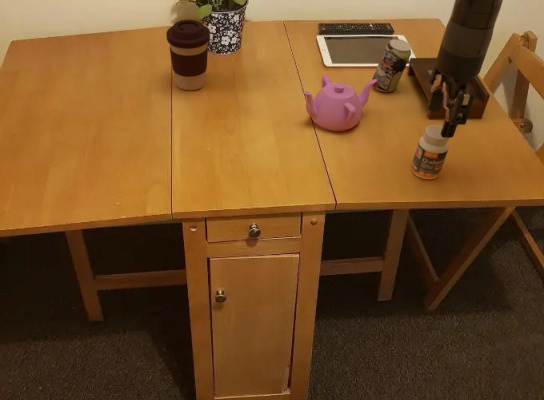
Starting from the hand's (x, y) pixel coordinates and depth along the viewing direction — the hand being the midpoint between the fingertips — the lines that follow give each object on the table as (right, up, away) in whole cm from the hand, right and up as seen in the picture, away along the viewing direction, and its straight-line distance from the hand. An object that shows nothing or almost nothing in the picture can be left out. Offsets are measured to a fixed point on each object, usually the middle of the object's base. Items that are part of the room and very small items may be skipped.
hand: (439, 122), depth 109 cm
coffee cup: (-49, +14, +32) cm, 60 cm away
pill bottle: (0, -9, +8) cm, 12 cm away
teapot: (-16, +4, +21) cm, 27 cm away
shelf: (+11, +11, +29) cm, 33 cm away
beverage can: (-1, +12, +31) cm, 33 cm away
